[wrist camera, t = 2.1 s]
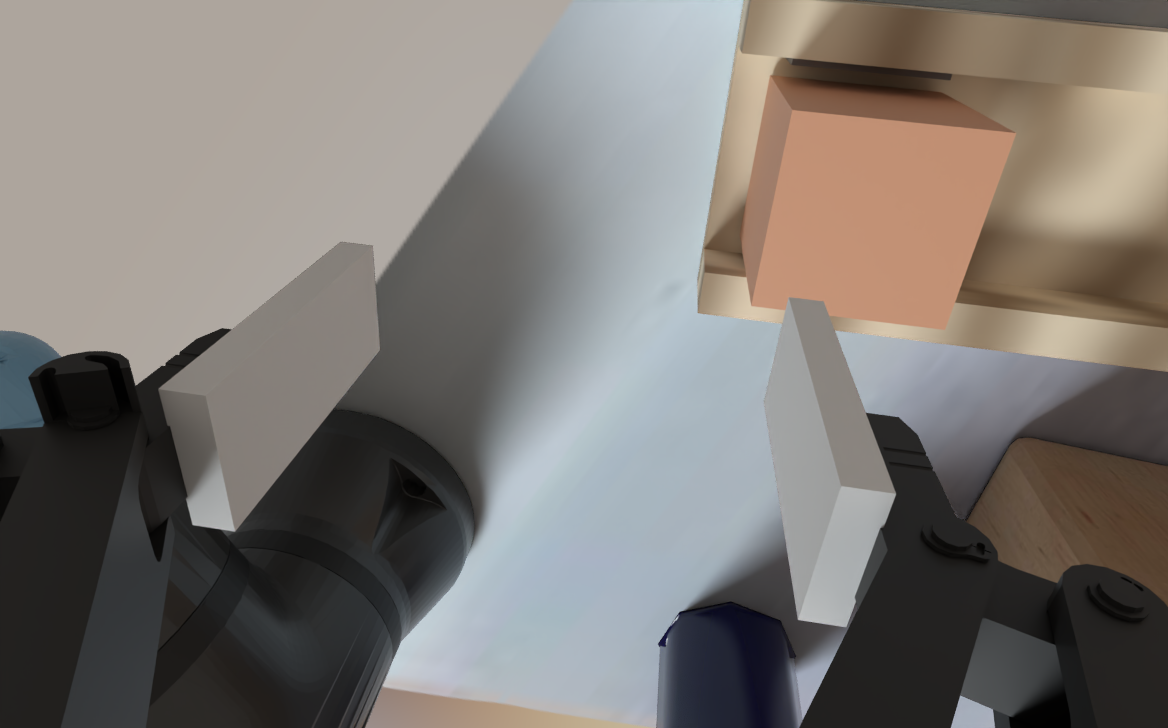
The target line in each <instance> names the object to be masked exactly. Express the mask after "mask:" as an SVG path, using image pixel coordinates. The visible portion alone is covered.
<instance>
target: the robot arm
mask: <svg viewBox="0 0 1168 728" xmlns="http://www.w3.org/2000/svg"><path fill="white" fill-rule="evenodd" d="M379 351H380V340H379V326H378V313H377V299H376V285H375V273H374V257H373V246H370V245H363V244H354V243H346V242H340V243H339V244H338V245H336V246H335V247H334V248H333V249H332V250H330V251H329V252H328V253H326V254H325V255H324V256H323V257H322V258H320V259H319V260H318V261H316V262H315V263H314V264H313V265H311V266H310V267H309V268H308V269H307V270H305V271H304V272H303V273H301V274H300V275H299V276H298V277H297V278H295V279H294V280H293V281H292V282H291V283H289V284H288V285H287V286H285V287H284V288H283V289H282V290H280V291H279V292H278V293H277V294H275V295H274V296H273V297H272V298H270V299H269V300H268V301H267V302H266V303H264V304H263V305H262V306H261V307H259V308H258V309H257V310H256V311H255V312H253V313H252V314H251V315H249V316H248V317H247V318H246V319H244V320H243V321H242V322H241V323H239V324H238V325H237V326H236V327H235V328H233V329H232V330H231V329H223V328H222V329H219V330H217V331H215V332H212V333H210V334H208V335H205V336H203V337H200V338H198V339H196V340H195V341H194V342H192V343H191V344H190V345H188V346H187V347H186V348H185V349H183V350H182V351H181V352H180V355H175V356H174V357H173V358H171V359H170V360H169V361H168V362H166V365H165V366H161V367H160V368H158V369H157V370H156V371H155V372H153V373H152V374H151V375H149V376H148V377H147V378H145V379H144V380H143V381H142V382H140V383H139V384H138V385H136V386H135V383H134V379H133V375H132V371H131V368H130V364H129V360H127V359H126V358H125V357H124V356H122V355H121V354H117V353H111V352H107V351H93V352H83V353H76V354H70V355H67V356H64V357H61V356H60V355H59V354H58V353H57V352H56V351H55V350H54V349H53V348H52V347H50V346H49V345H48V344H47V343H45V342H43V341H42V340H40V339H38V338H36V337H34V336H31V335H28V334H24V333H20V332H15V331H0V728H365V727H366V725H367V722H368V720H369V718H370V715H371V713H372V710H373V708H374V705H375V702H376V700H377V698H378V695H379V693H380V690H381V688H382V686H383V683H384V681H385V679H386V676H387V674H388V671H389V669H390V666H391V663H392V661H393V659H394V657H395V654H396V652H397V650H398V647H399V645H400V643H401V641H402V640H403V639H404V638H405V637H406V636H407V635H408V634H409V633H410V631H411V630H412V629H413V628H414V627H415V626H416V625H417V624H418V623H419V622H420V621H421V620H422V619H423V618H424V617H425V615H426V614H427V613H428V612H429V611H430V610H431V609H432V608H433V607H434V606H435V605H436V604H437V603H438V602H439V600H440V599H441V598H442V597H443V596H444V595H445V594H446V593H447V592H448V591H449V590H450V588H451V587H452V586H453V585H454V583H455V581H456V580H457V578H458V577H459V575H460V573H461V571H462V568H463V566H464V563H465V560H466V558H467V555H468V553H469V550H470V547H471V545H472V541H473V535H474V515H473V510H472V505H471V502H470V499H469V497H468V494H467V492H466V490H465V488H464V486H463V484H462V482H461V481H460V479H459V477H458V476H457V474H456V473H455V472H454V470H453V469H452V468H451V466H450V465H449V464H448V463H447V462H446V461H445V460H444V459H443V458H442V456H440V455H439V454H438V453H437V452H436V451H435V450H434V449H433V448H432V447H430V446H429V445H428V444H427V443H425V442H424V441H423V440H421V439H420V438H418V437H417V436H415V435H414V434H412V433H410V432H408V431H407V430H405V429H403V428H401V427H399V426H397V425H395V424H393V423H390V422H388V421H385V420H383V419H380V418H377V417H373V416H370V415H366V414H362V413H357V412H351V411H342V410H333V408H334V407H335V406H336V405H337V403H338V402H339V401H340V400H341V398H342V397H343V396H344V395H345V393H346V392H347V391H348V390H349V388H350V387H351V386H352V385H353V383H354V382H355V381H356V380H357V378H358V377H359V376H360V375H361V373H362V372H363V371H364V370H365V368H366V367H367V366H368V365H369V363H370V362H371V361H372V360H373V358H374V357H375V356H376V355H377V353H378V352H379ZM764 407H765V413H766V419H767V426H768V432H769V438H770V445H771V451H772V458H773V464H774V470H775V477H776V483H777V490H778V496H779V502H780V509H781V515H782V521H783V528H784V534H785V541H786V547H787V553H788V560H789V566H790V572H791V579H792V585H793V592H794V598H795V604H796V611H797V617H798V620H802V621H808V622H815V623H821V624H828V625H834V626H840V627H847V624H848V621H849V619H850V616H851V613H852V611H853V608H854V605H855V603H856V604H857V608H858V611H857V613H856V615H855V617H854V619H853V621H852V623H851V625H850V627H849V629H848V631H847V633H846V635H845V637H844V639H843V641H842V643H841V645H840V647H839V649H838V651H837V653H836V655H835V657H834V659H833V661H832V663H831V665H830V667H829V669H828V671H827V673H826V675H825V677H824V679H823V681H822V683H821V685H820V687H819V689H818V691H817V693H816V695H815V697H814V699H813V701H812V703H811V705H810V707H809V709H808V711H807V713H806V715H805V717H804V719H803V721H802V723H801V725H800V727H799V728H951V725H952V721H953V718H954V714H955V711H956V708H957V704H958V701H959V697H960V695H961V696H963V697H965V698H968V699H970V700H972V701H975V702H977V703H980V704H982V705H984V706H987V707H989V708H991V709H993V712H994V721H995V728H1168V607H1167V605H1166V604H1165V602H1164V601H1162V600H1161V599H1160V598H1159V597H1158V596H1157V595H1156V594H1155V593H1153V592H1152V591H1151V590H1150V589H1149V588H1147V587H1146V586H1144V585H1143V584H1141V583H1140V582H1138V581H1136V580H1134V579H1133V578H1131V577H1129V576H1127V575H1125V574H1122V573H1120V572H1117V571H1115V570H1112V569H1109V568H1107V567H1102V566H1096V565H1090V564H1082V565H1074V566H1071V567H1070V568H1068V569H1067V570H1066V571H1065V572H1063V574H1062V576H1061V577H1060V579H1059V581H1058V583H1055V582H1052V581H1050V580H1047V579H1044V578H1041V577H1038V576H1036V575H1033V574H1030V573H1027V572H1024V571H1022V570H1019V569H1016V568H1014V567H1012V566H1009V565H1007V564H1004V563H1002V562H1000V561H999V560H998V552H997V550H996V548H995V547H994V545H993V544H992V542H991V541H990V539H989V538H988V537H987V536H985V535H984V534H983V533H982V532H981V531H979V530H978V529H977V528H976V527H974V526H973V525H971V524H969V523H967V522H965V521H963V520H961V519H960V518H957V517H956V516H955V514H954V512H953V510H952V508H951V506H950V503H949V501H948V499H947V497H946V495H945V493H944V491H943V488H942V486H941V484H940V482H939V480H938V478H937V476H936V473H935V472H934V471H932V469H933V467H932V465H931V463H930V461H929V459H928V457H927V456H926V452H925V450H924V448H923V446H922V444H921V441H920V439H919V437H918V435H917V434H916V433H915V432H914V431H913V430H912V429H911V428H910V427H908V426H907V425H906V424H905V423H904V422H903V421H902V420H901V419H900V418H899V417H893V416H885V415H878V414H870V413H866V412H865V410H864V407H863V404H862V402H861V399H860V396H859V394H858V391H857V388H856V386H855V383H854V380H853V378H852V375H851V373H850V370H849V367H848V365H847V362H846V359H845V357H844V354H843V351H842V349H841V346H840V343H839V341H838V338H837V335H836V333H835V330H834V327H833V325H832V322H831V319H830V317H829V314H828V311H827V309H826V306H825V303H824V301H817V300H809V299H800V298H792V297H789V298H788V302H787V306H786V310H785V314H784V319H783V323H782V327H781V331H780V335H779V340H778V344H777V348H776V352H775V356H774V361H773V365H772V369H771V373H770V377H769V382H768V386H767V390H766V394H765V398H764Z"/></svg>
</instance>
